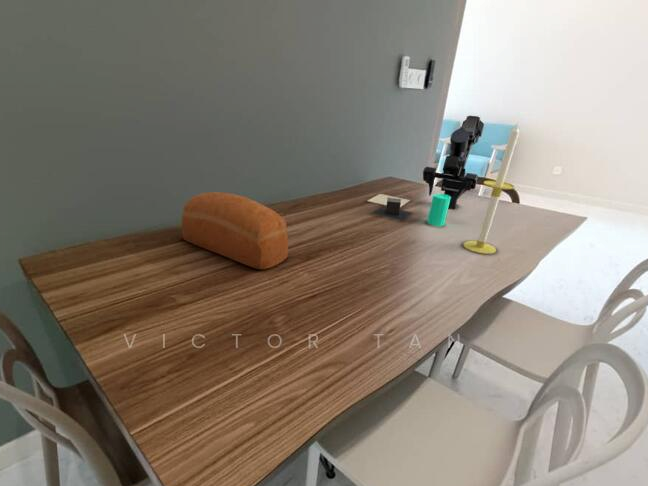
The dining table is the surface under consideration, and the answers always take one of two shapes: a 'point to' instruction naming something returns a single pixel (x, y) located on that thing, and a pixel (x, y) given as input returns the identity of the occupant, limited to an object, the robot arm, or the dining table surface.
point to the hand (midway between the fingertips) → (442, 197)
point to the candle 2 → (494, 198)
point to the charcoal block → (393, 206)
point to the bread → (236, 229)
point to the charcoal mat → (400, 217)
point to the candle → (438, 209)
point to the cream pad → (383, 199)
